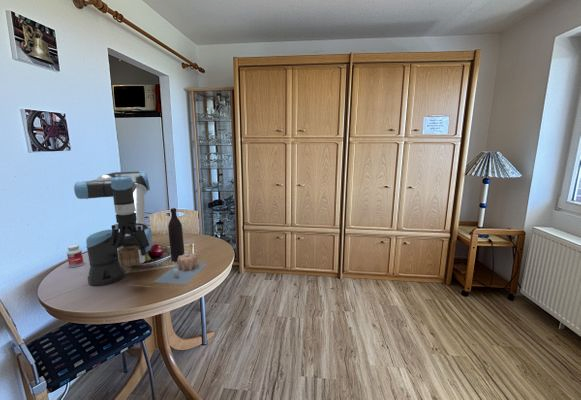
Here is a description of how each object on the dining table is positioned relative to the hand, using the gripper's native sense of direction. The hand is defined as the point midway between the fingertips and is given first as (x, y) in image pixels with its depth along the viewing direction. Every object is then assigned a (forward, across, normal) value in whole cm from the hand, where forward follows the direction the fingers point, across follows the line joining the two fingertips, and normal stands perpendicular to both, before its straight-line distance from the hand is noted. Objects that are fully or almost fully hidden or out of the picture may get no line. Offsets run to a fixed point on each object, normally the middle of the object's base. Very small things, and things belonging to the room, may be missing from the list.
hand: (132, 261), depth 119 cm
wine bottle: (+13, +3, +30) cm, 33 cm away
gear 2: (+12, +14, +21) cm, 28 cm away
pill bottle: (+13, -49, +17) cm, 53 cm away
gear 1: (0, 0, 0) cm, 0 cm away
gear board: (+13, +14, +15) cm, 24 cm away
